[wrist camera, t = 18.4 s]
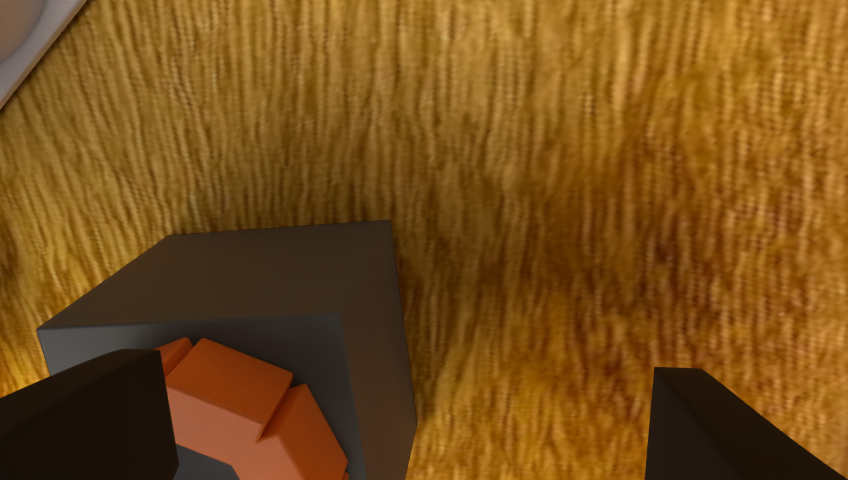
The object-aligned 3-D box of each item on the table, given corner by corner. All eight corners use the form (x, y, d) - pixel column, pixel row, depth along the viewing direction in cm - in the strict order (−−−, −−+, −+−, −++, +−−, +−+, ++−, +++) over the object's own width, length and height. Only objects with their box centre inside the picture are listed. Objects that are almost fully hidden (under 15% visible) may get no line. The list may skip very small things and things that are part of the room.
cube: (213, 430, 22) (112, 578, 17) (167, 235, 20) (34, 328, 15) (418, 424, 21) (383, 579, 16) (390, 219, 19) (339, 313, 14)
